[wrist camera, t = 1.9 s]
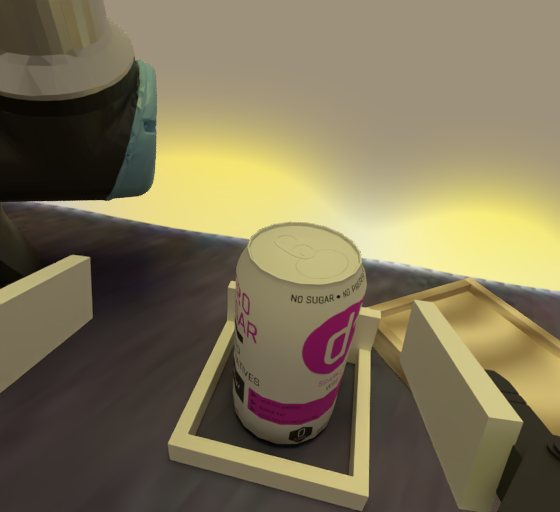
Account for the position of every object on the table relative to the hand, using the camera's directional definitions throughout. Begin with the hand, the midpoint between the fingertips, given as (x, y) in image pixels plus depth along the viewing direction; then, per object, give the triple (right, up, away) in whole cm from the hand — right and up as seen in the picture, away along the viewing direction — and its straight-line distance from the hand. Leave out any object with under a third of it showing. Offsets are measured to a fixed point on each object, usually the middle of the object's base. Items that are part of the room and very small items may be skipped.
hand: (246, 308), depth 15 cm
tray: (+20, -9, +21) cm, 30 cm away
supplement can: (+2, -10, +16) cm, 19 cm away
